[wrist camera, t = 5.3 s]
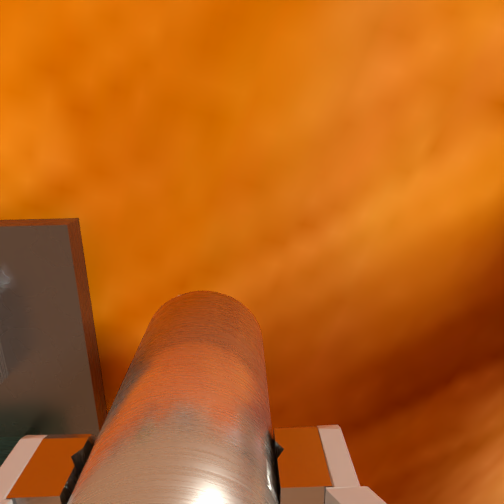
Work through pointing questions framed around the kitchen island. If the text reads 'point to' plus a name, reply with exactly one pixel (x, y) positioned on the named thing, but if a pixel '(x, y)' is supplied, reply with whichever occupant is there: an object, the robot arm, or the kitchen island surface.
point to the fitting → (188, 414)
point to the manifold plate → (46, 334)
